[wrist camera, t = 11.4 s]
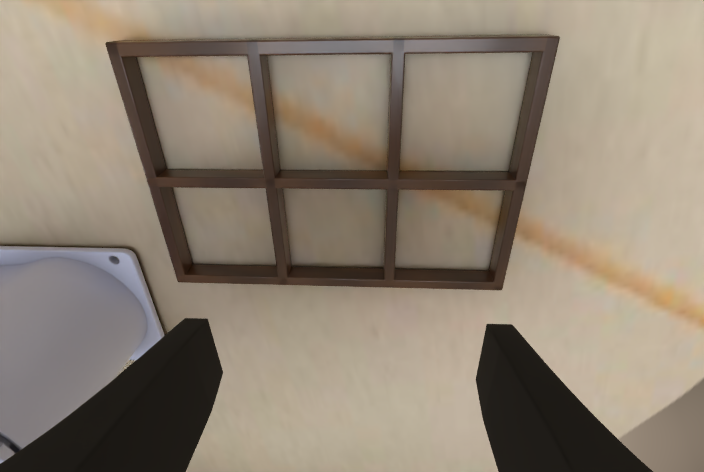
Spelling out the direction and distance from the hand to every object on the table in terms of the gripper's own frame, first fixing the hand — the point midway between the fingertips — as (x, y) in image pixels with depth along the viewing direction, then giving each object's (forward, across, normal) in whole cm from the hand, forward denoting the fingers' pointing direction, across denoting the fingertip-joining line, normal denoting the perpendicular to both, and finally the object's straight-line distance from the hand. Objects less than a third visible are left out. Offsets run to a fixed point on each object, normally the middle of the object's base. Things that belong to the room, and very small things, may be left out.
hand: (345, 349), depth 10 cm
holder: (+9, +1, -1) cm, 9 cm away
